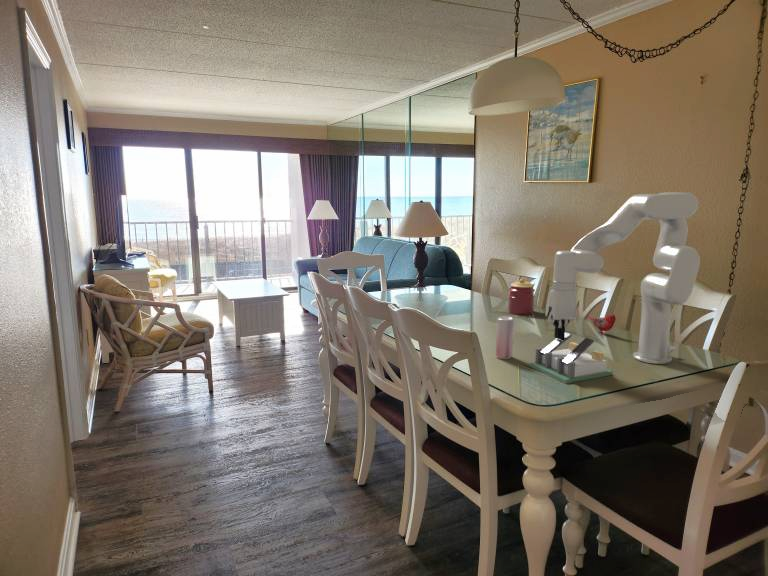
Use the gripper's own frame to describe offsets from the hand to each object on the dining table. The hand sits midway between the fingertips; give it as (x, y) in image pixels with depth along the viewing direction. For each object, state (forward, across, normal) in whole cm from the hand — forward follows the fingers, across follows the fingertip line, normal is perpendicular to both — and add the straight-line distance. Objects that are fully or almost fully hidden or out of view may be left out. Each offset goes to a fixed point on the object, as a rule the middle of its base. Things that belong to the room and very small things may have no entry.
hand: (559, 338), depth 181 cm
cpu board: (+10, -1, +6) cm, 12 cm away
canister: (+10, -40, -73) cm, 83 cm away
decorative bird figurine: (+9, -46, -26) cm, 53 cm away
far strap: (+2, +1, 0) cm, 3 cm away
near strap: (+2, +2, +11) cm, 12 cm away
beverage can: (+11, +11, -16) cm, 22 cm away
